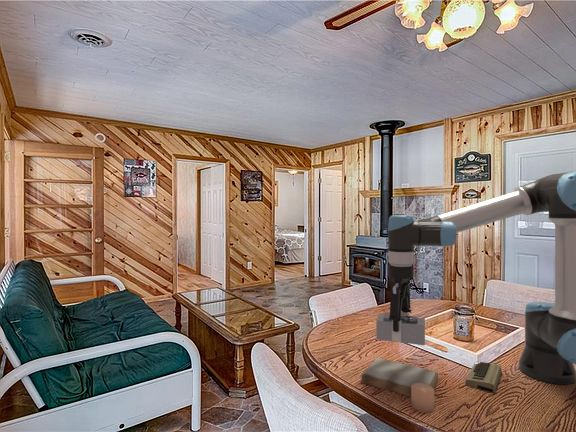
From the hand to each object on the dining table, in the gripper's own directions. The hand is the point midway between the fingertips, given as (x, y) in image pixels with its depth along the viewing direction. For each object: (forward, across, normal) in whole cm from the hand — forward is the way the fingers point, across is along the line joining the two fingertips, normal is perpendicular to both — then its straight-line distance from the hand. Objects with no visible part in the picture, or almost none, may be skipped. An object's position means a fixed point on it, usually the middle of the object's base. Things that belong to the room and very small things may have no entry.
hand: (400, 336), depth 109 cm
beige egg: (+14, +10, +9) cm, 20 cm away
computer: (+15, -16, +22) cm, 31 cm away
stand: (+14, 0, 0) cm, 14 cm away
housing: (0, 0, 0) cm, 1 cm away
